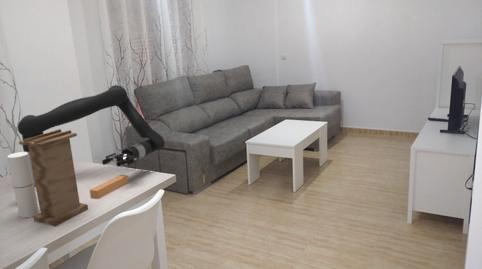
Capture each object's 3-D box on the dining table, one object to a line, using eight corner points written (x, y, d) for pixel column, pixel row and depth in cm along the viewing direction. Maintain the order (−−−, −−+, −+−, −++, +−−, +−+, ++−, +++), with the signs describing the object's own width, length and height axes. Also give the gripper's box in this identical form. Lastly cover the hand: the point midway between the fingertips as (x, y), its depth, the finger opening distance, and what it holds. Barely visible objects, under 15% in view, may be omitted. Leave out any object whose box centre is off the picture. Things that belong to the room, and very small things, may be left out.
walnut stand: (34, 221, 158) (18, 139, 150) (67, 204, 172) (54, 128, 163) (55, 226, 153) (40, 141, 144) (88, 209, 167) (76, 130, 158)
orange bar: (90, 198, 178) (89, 189, 177) (122, 182, 195) (121, 174, 194) (97, 199, 176) (96, 191, 175) (128, 183, 194) (127, 175, 193)
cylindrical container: (25, 219, 160) (13, 158, 154) (15, 215, 164) (3, 156, 157) (42, 211, 166) (31, 153, 160) (32, 208, 170) (21, 151, 163)
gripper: (121, 144, 200) (97, 154, 186) (144, 147, 194) (121, 157, 180) (123, 159, 202) (99, 169, 188) (146, 162, 196) (123, 173, 182)
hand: (110, 163), depth 184 cm, fingers open, 8 cm apart
